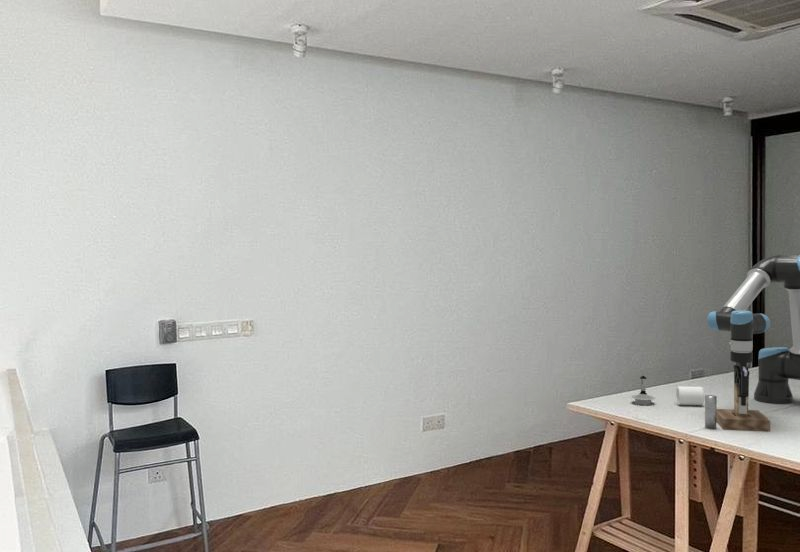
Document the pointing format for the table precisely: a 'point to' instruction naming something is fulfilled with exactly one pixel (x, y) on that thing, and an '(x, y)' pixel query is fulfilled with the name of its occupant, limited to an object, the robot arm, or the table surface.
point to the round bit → (710, 411)
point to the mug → (689, 395)
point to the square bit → (736, 401)
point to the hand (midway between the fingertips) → (741, 412)
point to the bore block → (742, 420)
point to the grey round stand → (643, 396)
